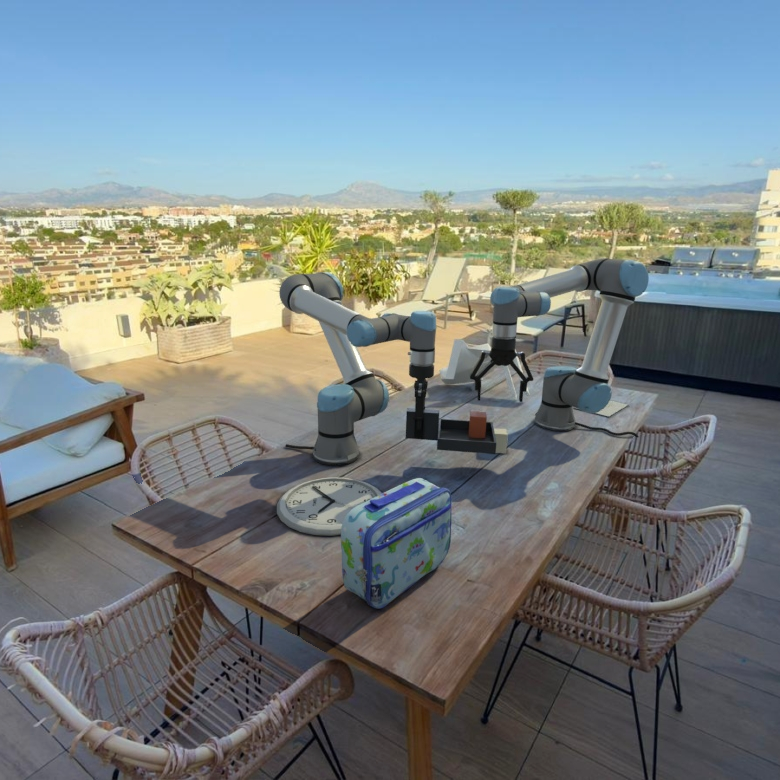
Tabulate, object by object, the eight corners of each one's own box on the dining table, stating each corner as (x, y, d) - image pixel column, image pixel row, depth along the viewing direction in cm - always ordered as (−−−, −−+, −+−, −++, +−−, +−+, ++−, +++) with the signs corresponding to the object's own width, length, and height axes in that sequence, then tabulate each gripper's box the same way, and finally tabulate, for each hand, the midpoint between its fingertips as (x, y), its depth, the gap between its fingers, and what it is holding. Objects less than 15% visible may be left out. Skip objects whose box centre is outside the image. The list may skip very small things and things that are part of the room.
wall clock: (392, 527, 129) (268, 531, 127) (391, 533, 130) (269, 537, 127) (383, 473, 158) (282, 475, 155) (383, 478, 158) (282, 480, 156)
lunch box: (370, 622, 101) (370, 527, 94) (335, 595, 108) (333, 505, 102) (455, 565, 118) (460, 481, 112) (420, 544, 125) (423, 465, 119)
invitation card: (608, 416, 214) (573, 407, 224) (608, 416, 214) (573, 408, 224) (628, 404, 229) (594, 396, 238) (628, 405, 229) (594, 397, 238)
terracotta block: (484, 432, 168) (486, 412, 166) (484, 438, 163) (486, 417, 161) (468, 431, 168) (470, 411, 166) (468, 437, 164) (470, 416, 162)
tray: (491, 432, 170) (494, 406, 167) (495, 454, 154) (498, 425, 151) (408, 426, 173) (409, 400, 170) (403, 447, 156) (404, 419, 154)
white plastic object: (461, 429, 252) (437, 405, 227) (444, 352, 274) (420, 323, 250) (535, 404, 240) (518, 377, 215) (510, 326, 262) (492, 293, 237)
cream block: (504, 447, 182) (506, 429, 180) (506, 453, 178) (507, 434, 176) (490, 446, 183) (491, 428, 181) (491, 452, 178) (492, 433, 176)
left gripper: (411, 356, 165) (409, 426, 172) (407, 369, 150) (404, 445, 157) (435, 357, 164) (432, 427, 171) (433, 371, 149) (429, 446, 156)
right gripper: (542, 335, 168) (536, 397, 175) (463, 333, 171) (461, 395, 177) (546, 340, 161) (540, 405, 168) (464, 338, 164) (461, 402, 170)
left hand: (419, 435), depth 164 cm, fingers closed on tray, 3 cm apart
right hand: (499, 400), depth 173 cm, fingers open, 13 cm apart
